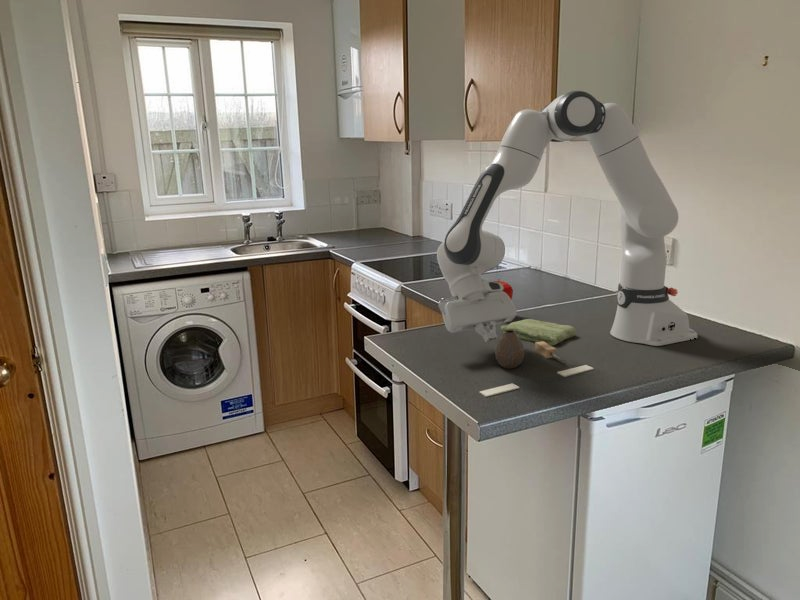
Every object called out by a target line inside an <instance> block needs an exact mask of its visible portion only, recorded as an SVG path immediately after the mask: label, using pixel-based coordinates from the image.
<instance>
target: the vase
mask: <svg viewBox="0 0 800 600" xmlns="http://www.w3.org/2000/svg"><path fill="white" fill-rule="evenodd" d="M503 333H504V334H502V336H501V337H500V338H499V339H498V341H497V342H496V345H495V349H494V354H495V359H496V362H497V364H499V365H500V366H501V367H502V368H504V369H515V368H517V367H519V366H520V365H521V363H522V362H523V359H524V357H525V347H524V344H523V342H522V339H519V338H518V336H517V335H516V333H515V331H514V330H506V331H505V332H504V331H503Z"/></svg>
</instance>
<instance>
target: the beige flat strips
mask: <svg viewBox="0 0 800 600" xmlns="http://www.w3.org/2000/svg"><path fill="white" fill-rule="evenodd" d="M593 370H594V367H592V366H589V365H587V364H584V365H579V366H577V367H576V366H575V367H571V368H568V369H564V370H560V371H556V373H557V374H558V375H559V376H562V377H565V378H566V377H569V376H574V375H577V374H581V373H586V372H588V371H593ZM519 389H520V386H518V385H516V384H514V383H508V384H504V385H500V386H496V387H492V388H488V389H483V390H479V394H480V393H481V394H480V395H481V396H484V397H485V398H486V397H487V398H488V397H491V396H496V395H501V394H503V393H507V392H511V391H515V390H519Z"/></svg>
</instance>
